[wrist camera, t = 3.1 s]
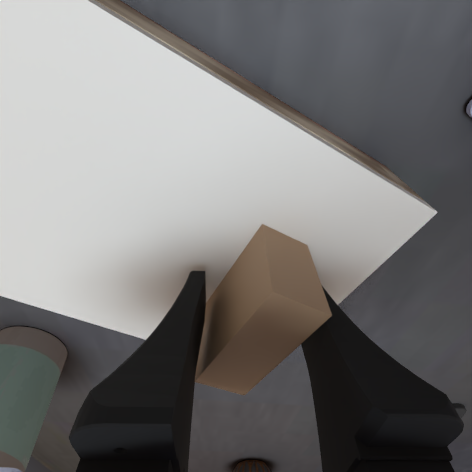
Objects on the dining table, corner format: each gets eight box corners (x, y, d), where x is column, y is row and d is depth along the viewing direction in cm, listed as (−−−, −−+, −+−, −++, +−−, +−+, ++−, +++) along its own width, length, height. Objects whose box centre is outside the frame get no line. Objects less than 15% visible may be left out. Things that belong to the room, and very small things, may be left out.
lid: (427, 203, 13) (511, 278, 9) (261, 363, 20) (268, 445, 16) (-35, -79, 8) (-297, -186, 4) (-42, 268, 15) (-141, 353, 11)
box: (385, 166, 17) (423, 200, 13) (256, 313, 24) (261, 359, 20) (47, -46, 11) (-27, -76, 8) (10, 222, 18) (-38, 264, 15)
